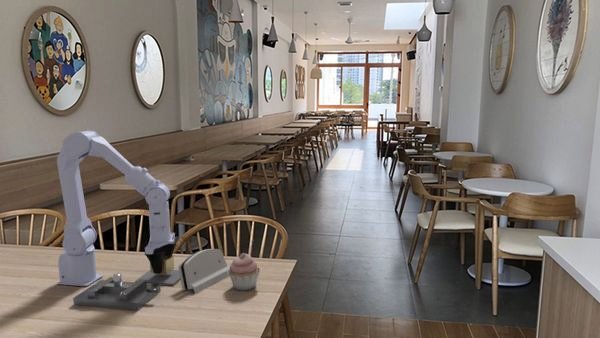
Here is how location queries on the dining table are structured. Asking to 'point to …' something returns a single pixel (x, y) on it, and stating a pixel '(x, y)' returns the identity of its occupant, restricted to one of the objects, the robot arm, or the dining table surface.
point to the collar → (165, 265)
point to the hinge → (203, 270)
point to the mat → (162, 278)
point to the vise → (118, 294)
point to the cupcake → (244, 272)
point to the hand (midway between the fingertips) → (162, 269)
